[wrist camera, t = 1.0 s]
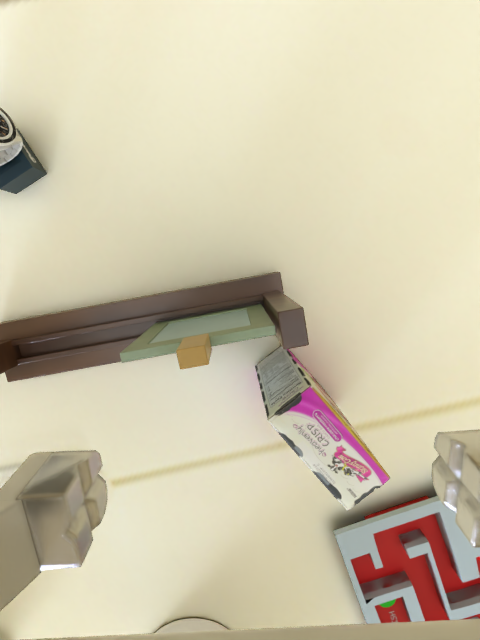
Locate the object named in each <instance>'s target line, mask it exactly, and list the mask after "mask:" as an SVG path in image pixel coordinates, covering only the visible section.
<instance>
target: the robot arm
mask: <svg viewBox="0 0 480 640" xmlns="http://www.w3.org/2000/svg"><path fill="white" fill-rule="evenodd" d="M434 448H435V450H436V451H437V452H438V454H439V457H438V458H437V459H436V460H435V461H434V462H433V463H432V480H433V485H434V489H435V491H436V493H437V496H438V498H439V499H440V501H441V502H442V504H443V505H444V506H445V507H447V508H448V509H450V510H452V511H453V512H455V513H456V518H455V522H456V524H457V525H458V527H459V528H460V530H461V531H462V532H463V534H464V535H465V537H466V538H467V540H468V541H469V542H470V544H471V545H472V547H473V548H480V430H466V431H451V432H438V433H437V435H436V437H435V443H434ZM101 467H102V461H101V457H100V453H98V452H97V451H96V450H91V451H60V452H39V453H34V454H31V455H30V456H29V457H28V458H27V459H26V460H25V461H24V463H23V464H22V465H21V466H20V467H19V468H18V470H17V471H16V472H15V473H14V474H13V475H12V476H11V478H10V479H9V480H8V481H7V482H6V483H5V484H4V486H3V487H2V488H1V489H0V611H1V610H2V609H3V608H4V607H5V606H6V605H7V604H8V603H10V602H11V601H12V600H13V599H14V598H15V597H16V596H17V595H18V594H19V593H20V592H21V591H22V590H23V589H24V588H25V587H26V586H27V585H28V584H29V583H30V582H31V581H33V580H34V579H35V578H36V577H37V576H38V575H39V574H40V573H41V570H46V569H58V568H71V567H81V565H82V563H83V561H84V559H85V557H86V554H87V552H88V550H89V548H90V546H91V543H92V541H93V537H92V532H91V531H92V530H93V529H94V528H95V527H97V526H98V525H99V524H100V523H101V521H102V519H103V516H104V514H105V510H106V504H107V486H106V481H105V480H104V479H103V478H102V477H101V476H100V475H99V474H98V473H99V471H100V469H101ZM22 640H480V619H461V620H439V621H417V622H395V623H373V624H350V625H328V626H306V627H284V628H261V629H239V630H228V629H227V628H225V627H224V626H222V625H220V624H218V623H216V622H213V621H210V620H206V619H199V618H188V619H181V620H177V621H174V622H171V623H169V624H167V625H165V626H163V627H162V628H160V629H159V630H158V631H156V632H155V633H153V634H132V635H110V636H89V637H68V638H45V639H22Z"/></svg>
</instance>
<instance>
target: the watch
mask: <svg viewBox="0 0 480 640" xmlns="http://www.w3.org/2000/svg"><path fill="white" fill-rule="evenodd" d="M46 174H47V173H46V171H45V170H44V168H43V167H42V165H41V164H40V162H39V160H38V159H37V157H36V156H35V154H34V153H33V151H32V150H31V148H30V147H29V145H28V144H27V142H26V141H25V139H24V138H23V136H22V135H21V133H20V132H19V130H18V129H17V128H16V126H15V124H14V122H13V120H12V119H11V118H10V116H9V115H8V114H7V113H6V112H5V111H4V110H3V109H2V108H0V189H1V190H4V191H8V192H11V193H15V194H17V193H18V192H20V191H22V190H23V189H25V188H26V187H28V186H29V185H31V184H32V183H34V182H35V181H37V180H38V179H40V178H41V177H43V176H44V175H46Z"/></svg>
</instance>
